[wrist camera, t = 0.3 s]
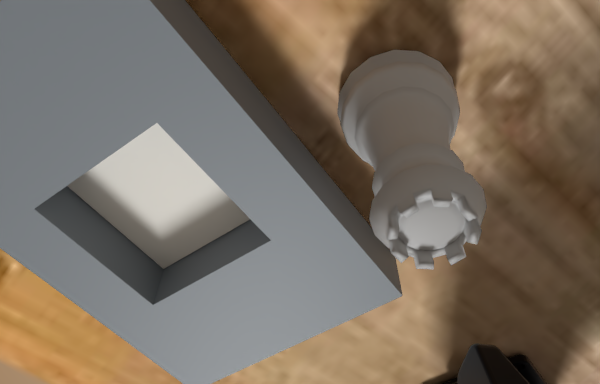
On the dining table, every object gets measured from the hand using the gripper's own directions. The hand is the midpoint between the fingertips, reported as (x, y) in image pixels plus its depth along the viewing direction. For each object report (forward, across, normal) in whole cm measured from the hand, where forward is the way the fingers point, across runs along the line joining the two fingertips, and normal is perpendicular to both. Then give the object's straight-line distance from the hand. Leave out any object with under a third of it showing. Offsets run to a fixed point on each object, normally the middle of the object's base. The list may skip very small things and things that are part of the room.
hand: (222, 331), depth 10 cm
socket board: (+13, +4, +6) cm, 15 cm away
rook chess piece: (+13, -5, +1) cm, 14 cm away
